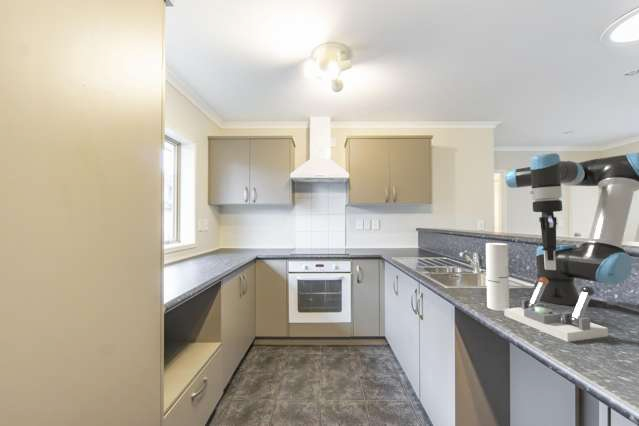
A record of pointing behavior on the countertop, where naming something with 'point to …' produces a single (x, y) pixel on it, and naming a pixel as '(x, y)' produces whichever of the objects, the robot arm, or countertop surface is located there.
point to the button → (542, 310)
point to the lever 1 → (537, 292)
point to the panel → (556, 323)
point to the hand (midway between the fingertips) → (550, 269)
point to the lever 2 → (581, 306)
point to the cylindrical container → (497, 276)
